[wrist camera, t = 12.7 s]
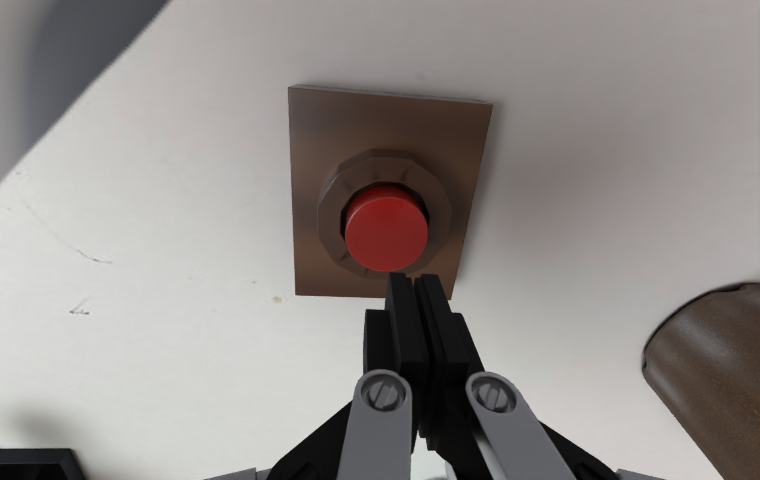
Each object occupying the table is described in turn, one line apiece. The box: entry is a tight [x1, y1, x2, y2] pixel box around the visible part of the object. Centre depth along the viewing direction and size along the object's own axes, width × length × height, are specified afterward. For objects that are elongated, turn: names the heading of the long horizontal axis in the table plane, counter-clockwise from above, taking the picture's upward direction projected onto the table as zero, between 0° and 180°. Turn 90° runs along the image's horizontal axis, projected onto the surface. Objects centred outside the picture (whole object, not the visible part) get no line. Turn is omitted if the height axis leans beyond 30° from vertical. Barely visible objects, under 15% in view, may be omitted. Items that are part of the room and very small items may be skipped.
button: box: [345, 186, 428, 271], centre depth 17 cm, size 4×4×2 cm
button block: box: [288, 85, 493, 300], centre depth 19 cm, size 12×10×4 cm
